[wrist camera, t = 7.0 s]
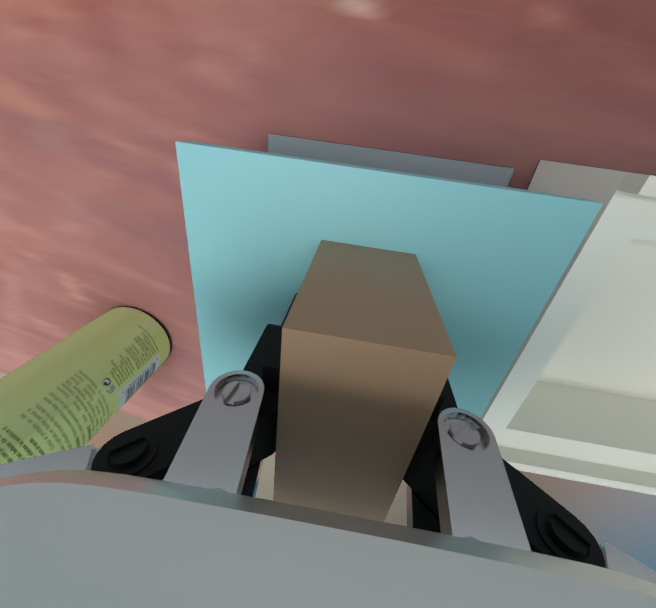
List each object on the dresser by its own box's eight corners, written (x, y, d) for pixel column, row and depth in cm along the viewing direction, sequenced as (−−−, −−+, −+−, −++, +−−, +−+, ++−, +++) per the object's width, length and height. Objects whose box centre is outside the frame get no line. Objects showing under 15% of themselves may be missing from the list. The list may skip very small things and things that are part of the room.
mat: (511, 168, 13) (514, 168, 13) (431, 368, 19) (432, 372, 19) (270, 133, 14) (268, 133, 13) (265, 340, 20) (264, 343, 19)
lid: (584, 198, 9) (878, 283, 4) (454, 440, 14) (500, 602, 9) (189, 141, 9) (-24, 148, 4) (215, 397, 15) (138, 529, 10)
